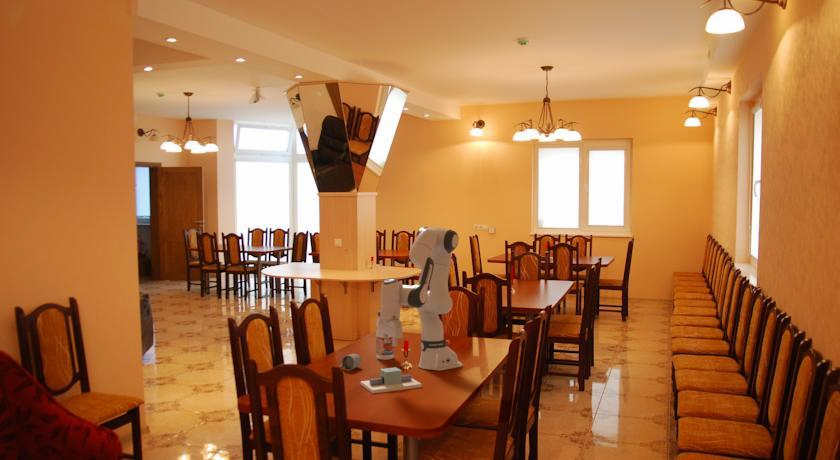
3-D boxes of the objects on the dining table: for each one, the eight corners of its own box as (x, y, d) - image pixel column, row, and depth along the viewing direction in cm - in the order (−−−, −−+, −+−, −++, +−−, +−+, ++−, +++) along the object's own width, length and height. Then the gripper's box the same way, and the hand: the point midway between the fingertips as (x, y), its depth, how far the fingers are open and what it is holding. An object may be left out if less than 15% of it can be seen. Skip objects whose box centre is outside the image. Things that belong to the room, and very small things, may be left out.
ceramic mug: (362, 367, 348) (362, 352, 348) (354, 371, 341) (353, 356, 340) (344, 365, 352) (344, 351, 352) (336, 369, 345) (335, 354, 345)
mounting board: (407, 378, 326) (407, 375, 326) (421, 387, 312) (421, 383, 312) (360, 384, 316) (360, 381, 316) (372, 393, 302) (372, 390, 302)
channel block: (396, 379, 319) (396, 367, 319) (401, 383, 313) (401, 370, 313) (380, 381, 315) (380, 369, 315) (385, 385, 310) (385, 372, 309)
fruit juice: (382, 355, 375) (382, 304, 374) (396, 357, 371) (396, 306, 369) (372, 358, 367) (372, 307, 366) (387, 360, 362) (387, 308, 361)
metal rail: (409, 379, 319) (409, 374, 319) (411, 380, 317) (411, 375, 317) (369, 384, 311) (369, 379, 311) (371, 385, 309) (371, 380, 309)
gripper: (405, 317, 305) (406, 348, 306) (388, 310, 324) (388, 339, 324) (392, 318, 302) (393, 349, 303) (376, 311, 321) (376, 340, 322)
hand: (390, 344), depth 314 cm, fingers open, 8 cm apart
